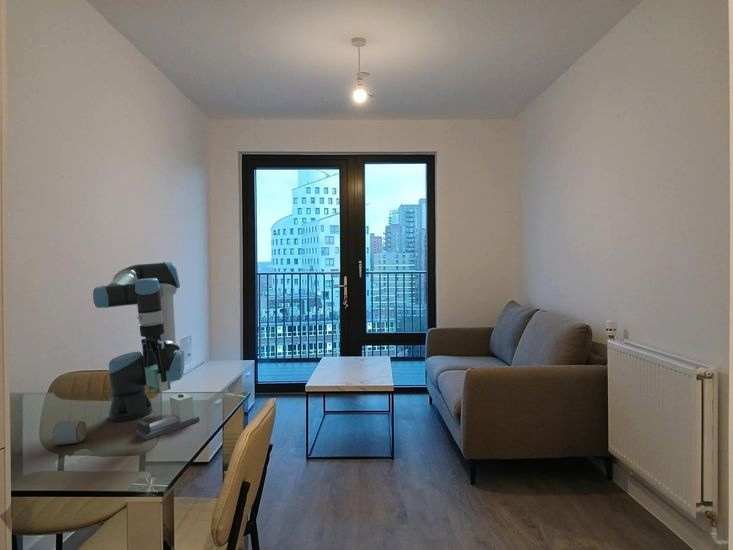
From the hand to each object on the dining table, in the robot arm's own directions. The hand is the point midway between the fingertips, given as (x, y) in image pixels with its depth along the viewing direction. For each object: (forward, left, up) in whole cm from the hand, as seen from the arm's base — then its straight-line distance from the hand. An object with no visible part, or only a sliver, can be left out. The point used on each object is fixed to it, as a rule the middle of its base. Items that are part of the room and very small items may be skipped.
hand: (158, 388), depth 170 cm
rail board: (0, +2, -15) cm, 15 cm away
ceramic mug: (-18, -23, -15) cm, 33 cm away
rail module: (0, 0, 0) cm, 0 cm away
